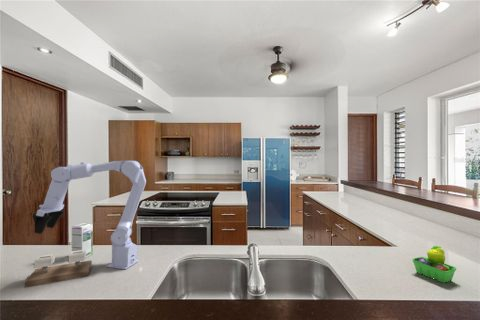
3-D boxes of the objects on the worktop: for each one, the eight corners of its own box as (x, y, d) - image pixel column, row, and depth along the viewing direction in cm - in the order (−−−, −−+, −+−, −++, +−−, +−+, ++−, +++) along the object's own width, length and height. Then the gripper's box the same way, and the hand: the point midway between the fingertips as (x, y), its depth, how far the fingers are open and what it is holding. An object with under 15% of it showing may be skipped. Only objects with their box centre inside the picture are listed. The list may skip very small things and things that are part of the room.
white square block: (85, 256, 90) (85, 249, 90) (83, 260, 86) (83, 253, 86) (71, 258, 88) (71, 251, 88) (68, 262, 84) (69, 255, 84)
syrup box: (81, 259, 98) (82, 226, 98) (70, 258, 99) (71, 225, 100) (92, 254, 104) (93, 223, 104) (82, 253, 105) (82, 222, 105)
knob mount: (91, 265, 93) (91, 255, 93) (87, 275, 84) (87, 265, 84) (35, 274, 85) (35, 263, 85) (24, 287, 76) (24, 275, 76)
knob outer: (54, 260, 86) (54, 253, 86) (50, 265, 81) (51, 258, 81) (39, 263, 83) (39, 255, 83) (34, 268, 79) (34, 260, 79)
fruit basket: (411, 271, 89) (410, 243, 90) (424, 267, 93) (423, 240, 93) (446, 286, 79) (446, 254, 79) (459, 281, 82) (459, 250, 83)
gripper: (54, 191, 94) (44, 223, 93) (32, 196, 80) (19, 233, 79) (73, 195, 96) (62, 226, 95) (54, 201, 82) (41, 237, 81)
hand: (44, 230), depth 87 cm, fingers open, 7 cm apart
